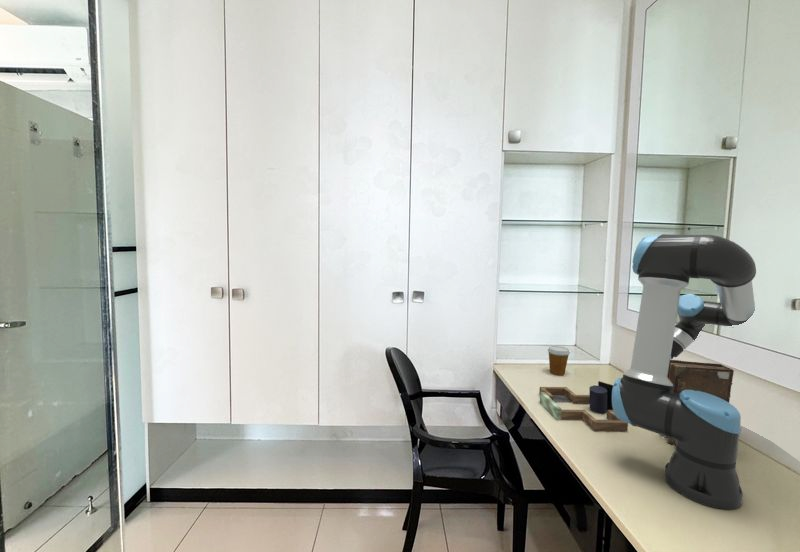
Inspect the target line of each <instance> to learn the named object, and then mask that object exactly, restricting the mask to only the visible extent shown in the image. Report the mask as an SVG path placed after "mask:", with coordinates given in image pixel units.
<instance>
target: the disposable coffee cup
mask: <svg viewBox="0 0 800 552" xmlns="http://www.w3.org/2000/svg"><path fill="white" fill-rule="evenodd" d="M547 352H548V363H549V373H550V374H551V375H553V376H557V377H559V376H560V377H562V376H565V375H564V374H565V373H566V369H567V364H568V359H569V355H570V354H571V353H570V349H569V348H567V347H564V346H559V345H552V346H548V349H547Z"/></svg>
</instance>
